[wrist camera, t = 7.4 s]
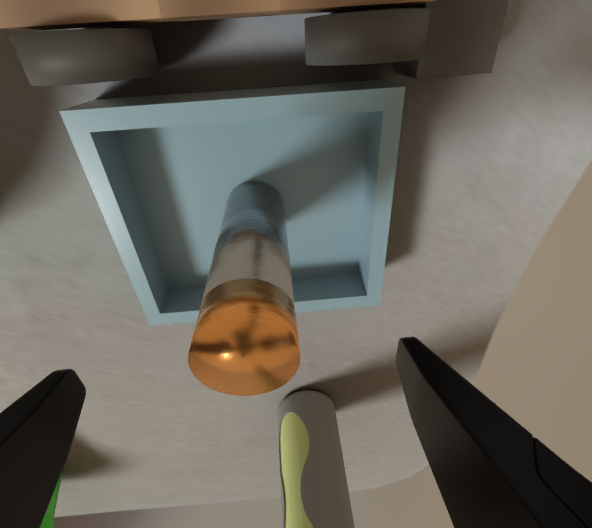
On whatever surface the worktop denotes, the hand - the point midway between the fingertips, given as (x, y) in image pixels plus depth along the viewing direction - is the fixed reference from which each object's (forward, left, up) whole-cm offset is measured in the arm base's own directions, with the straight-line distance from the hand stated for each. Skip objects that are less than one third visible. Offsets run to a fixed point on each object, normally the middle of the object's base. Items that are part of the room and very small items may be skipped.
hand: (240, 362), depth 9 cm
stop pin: (0, 0, -10) cm, 10 cm away
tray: (0, 0, -11) cm, 11 cm away
